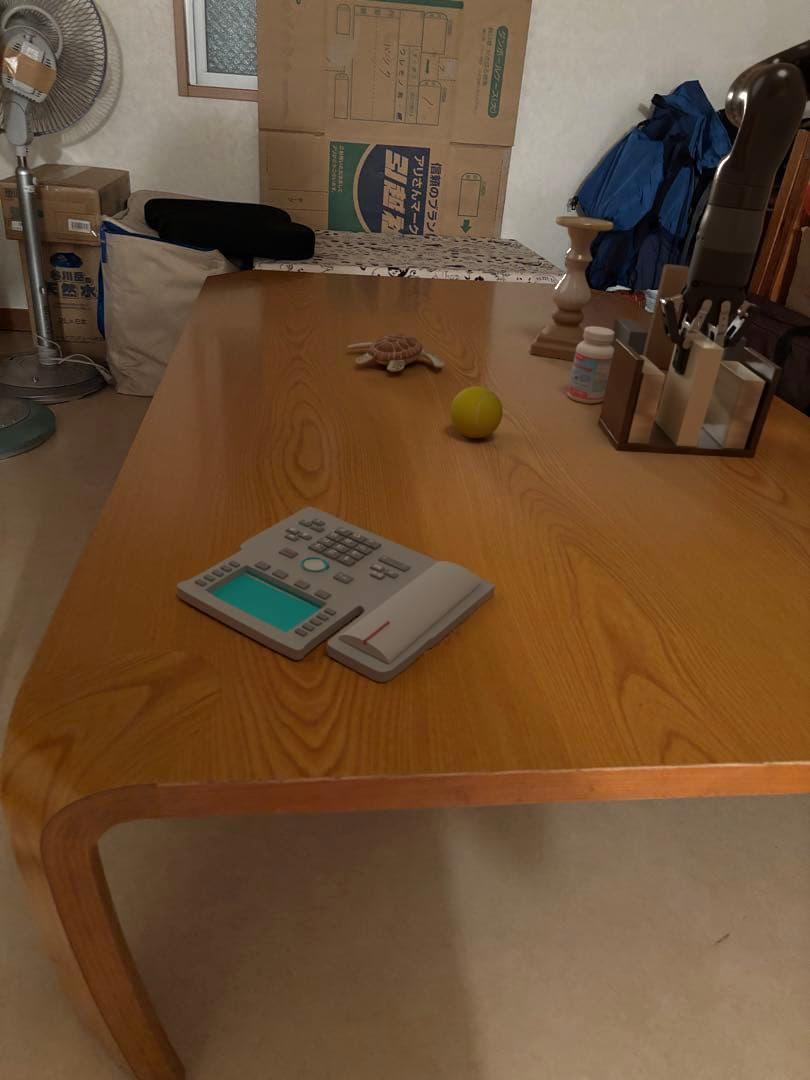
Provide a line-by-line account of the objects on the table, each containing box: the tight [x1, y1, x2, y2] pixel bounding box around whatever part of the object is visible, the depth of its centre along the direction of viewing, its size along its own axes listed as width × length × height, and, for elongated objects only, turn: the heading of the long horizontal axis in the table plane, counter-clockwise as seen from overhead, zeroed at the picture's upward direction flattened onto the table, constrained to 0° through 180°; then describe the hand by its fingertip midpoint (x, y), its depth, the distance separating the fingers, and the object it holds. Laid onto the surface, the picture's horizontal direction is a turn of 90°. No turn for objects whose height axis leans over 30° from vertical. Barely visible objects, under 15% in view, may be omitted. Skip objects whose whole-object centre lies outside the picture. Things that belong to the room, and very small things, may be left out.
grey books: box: [610, 317, 748, 363], centre depth 135 cm, size 20×9×10 cm, turn 93°
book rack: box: [597, 339, 783, 459], centre depth 110 cm, size 20×10×13 cm, turn 93°
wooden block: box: [643, 263, 690, 371], centre depth 142 cm, size 9×4×18 cm, turn 77°
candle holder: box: [529, 215, 614, 362], centre depth 145 cm, size 11×11×24 cm
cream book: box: [655, 329, 724, 447], centre depth 109 cm, size 3×9×14 cm, turn 3°
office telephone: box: [176, 505, 496, 683], centre depth 71 cm, size 23×3×20 cm
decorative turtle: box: [346, 332, 445, 373], centre depth 135 cm, size 18×17×5 cm
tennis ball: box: [450, 385, 504, 439], centre depth 107 cm, size 7×7×7 cm
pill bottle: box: [567, 325, 614, 405], centre depth 124 cm, size 6×6×11 cm
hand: (691, 373), depth 108 cm, fingers closed on cream book, 3 cm apart
